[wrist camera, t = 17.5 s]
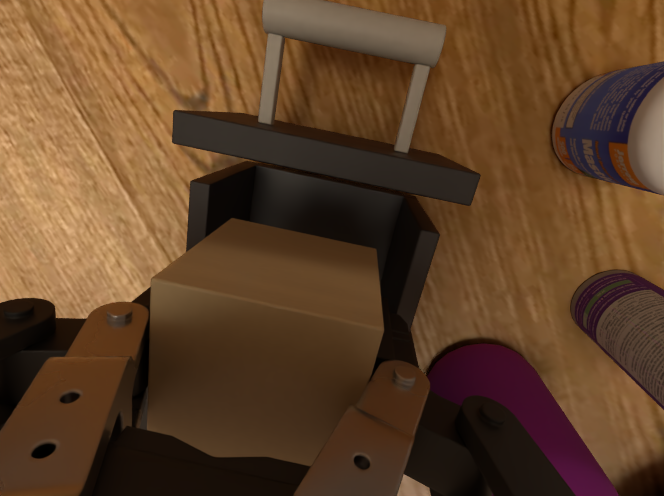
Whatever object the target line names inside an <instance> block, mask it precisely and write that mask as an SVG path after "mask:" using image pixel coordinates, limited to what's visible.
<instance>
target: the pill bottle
mask: <svg viewBox="0 0 664 496" xmlns="http://www.w3.org/2000/svg"><path fill="white" fill-rule="evenodd" d="M552 141H553V146H554V150H555V152H556V154H557V156H558V158H559V159H560V161H561V162H562V163H563V164H564V165H565V166H566V167H568V168H569V169H570V170H572V171H574V172H576V173H579V174H582V175H584V176H588V177H592V178H596V179H600V180H604V181H608V182H612V183H616V184H620V185H624V186H628V187H632V188H636V189H640V190H644V191H648V192H652V193H656V194H660V195H664V62H659V63H654V64H649V65H644V66H638V67H633V68H627V69H622V70H617V71H612V72H608V73H605V74H602V75H599V76H596V77H594V78H592V79H590V80H588V81H586V82H585V83H583V84H582V85H580V86H579V87H578V88H576V89H575V90H574V91H573V92H572V93H571V94H570V95H569V96H568V97H567V98H566V100H565V101H564V102H563V104H562V105H561V107H560V109H559V111H558V113H557V115H556V117H555V120H554V123H553V129H552Z"/></svg>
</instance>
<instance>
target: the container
mask: <svg viewBox="0 0 664 496" xmlns="http://www.w3.org/2000/svg"><path fill="white" fill-rule="evenodd" d="M571 314H572V318H573V320H574V321H575V323H576V324H577V325H578V326H579V327H580V328H581V329H582V330H583V331H584V332H585V333H586V334H587V335H588V336H589V337H590V338H591V339H592V340H593V341H594V342H595V343H596V344H597V345H598V346H599V347H600V348H601V349H602V350H603V351H604V352H605V353H606V354H607V355H608V356H609V357H610V358H611V359H612V360H613V361H614V362H615V363H616V364H617V365H618V366H619V367H620V368H621V369H622V370H624V371H625V372H626V373H627V374H628V375H629V376H630V377H631V378H632V379H633V380H634V381H635V382H636V383H637V384H638V385H639V386H640V387H641V388H642V389H643V390H644V391H645V392H646V393H647V394H648V395H649V396H650V397H651V398H652V399H653V400H654V401H655V402H656V403H657V404H658V405H659V406H660V407H661V408H662V409H663V410H664V290H663V289H661V288H659V287H657V286H656V285H654V284H652V283H650V282H649V281H647V280H645V279H644V278H642V277H640V276H638V275H636V274H634V273H632V272H629V271H623V270H611V271H606V272H602V273H599V274H597V275H595V276H593V277H591V278H590V279H588V280H587V281H585V282H584V283H583V284H582V285H581V286H580V287H579V288H578V290H577V291H576V293H575V294H574V296H573V299H572V303H571Z"/></svg>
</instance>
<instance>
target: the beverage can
mask: <svg viewBox="0 0 664 496" xmlns="http://www.w3.org/2000/svg"><path fill="white" fill-rule="evenodd" d="M427 378H428V380H429V382H430V390H431V391H433V392H434V393H436V394H437V395H439V396H441V397H443V398H445V399H447V400H449V401H451V402H454V403H456V404H458V405H460V406H461V405H462V402H463V400H464V399H465V398H466V397H468V396H472V395H479V396H484V397H488V398H490V399H493V400H495V401H497V402H499V403H500V404H502V405H503V406H505V407H506V408H507V409H509V410H510V411H511V412H512V413H513V414H514V415H515V416H516V418H517V419H518V420H519V421H520V423H521V424H522V425H523V427H524V428H525V429H526V431H527V432H528V433H529V435H530V436H531V437H532V439H533V440H534V441H535V442H536V444H537V445H538V446H539V448H540V449H541V450H542V452H543V453H544V454H545V456H546V457H547V458H548V460H549V461H550V462H551V463H552V465H553V466H554V467H555V469H556V470H557V471H558V473H559V474H560V475H561V477H562V478H563V479H564V481H565V482H566V483H567V484H568V486H569V487H570V488H571V490H572V491H573V492H574V494H575V495H576V496H619V495H618V493H617V491H616V489H615V488H614V486H613V485H612V483H611V482H610V480H609V479H608V477H607V476H606V474H605V473H604V471H603V470H602V468H601V467H600V465H599V464H598V463H597V461H596V460H595V458H594V457H593V455H592V454H591V452H590V451H589V449H588V448H587V446H586V445H585V443H584V442H583V440H582V439H581V437H580V436H579V434H578V433H577V431H576V430H575V429H574V427H573V426H572V424H571V423H570V421H569V420H568V418H567V417H566V415H565V414H564V412H563V411H562V409H561V408H560V406H559V405H558V403H557V402H556V400H555V399H554V397H553V396H552V394H551V393H550V392H549V390H548V389H547V387H546V386H545V384H544V383H543V381H542V380H541V378H540V377H539V375H538V374H537V372H536V371H535V369H534V368H533V367H532V366H531V365H530V364H529V363H528V362H527V361H526V360H525V359H524V358H523V357H522V356H520V355H519V354H518V353H517V352H515V351H513V350H510V349H508V348H506V347H503V346H501V345H493V344H484V343H482V344H475V345H468V346H463V347H461V348H459V349H456V350H454V351H452V352H449V353H448V354H446V355H445V356H444V357H443V358H441V359H440V360H439V361H438V362H436V363H435V365H434V367H433V368H432V370H431V371H430V373H429V374H428V376H427ZM492 495H493V494H492ZM493 496H494V495H493Z"/></svg>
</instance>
